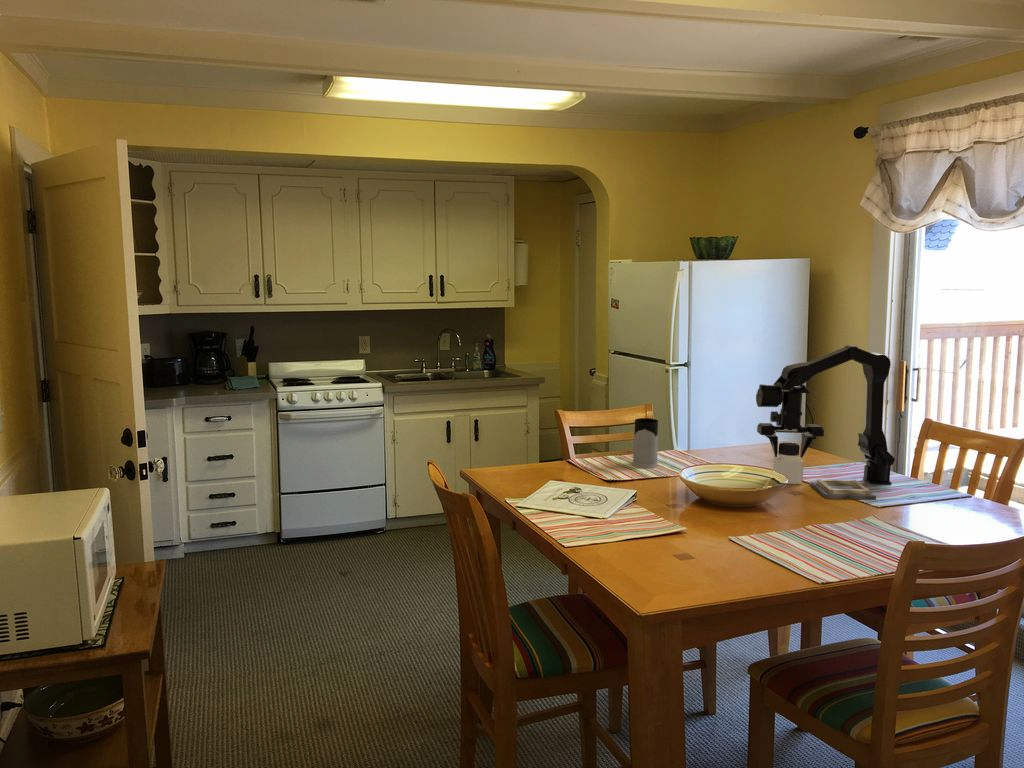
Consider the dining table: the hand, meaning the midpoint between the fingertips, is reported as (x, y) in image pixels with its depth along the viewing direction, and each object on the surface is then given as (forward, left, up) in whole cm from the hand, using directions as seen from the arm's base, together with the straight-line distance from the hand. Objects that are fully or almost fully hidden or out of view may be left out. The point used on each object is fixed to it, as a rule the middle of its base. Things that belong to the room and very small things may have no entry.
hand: (788, 457), depth 252 cm
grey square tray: (-13, +11, -8) cm, 19 cm away
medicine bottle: (0, 0, -8) cm, 8 cm away
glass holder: (+41, -19, -8) cm, 46 cm away
